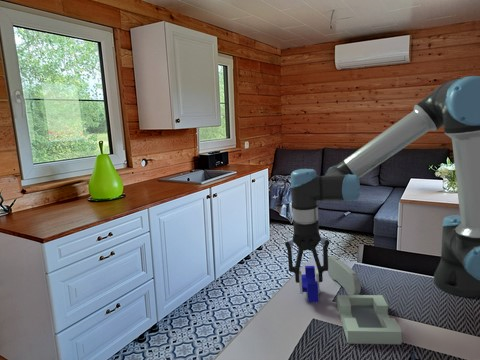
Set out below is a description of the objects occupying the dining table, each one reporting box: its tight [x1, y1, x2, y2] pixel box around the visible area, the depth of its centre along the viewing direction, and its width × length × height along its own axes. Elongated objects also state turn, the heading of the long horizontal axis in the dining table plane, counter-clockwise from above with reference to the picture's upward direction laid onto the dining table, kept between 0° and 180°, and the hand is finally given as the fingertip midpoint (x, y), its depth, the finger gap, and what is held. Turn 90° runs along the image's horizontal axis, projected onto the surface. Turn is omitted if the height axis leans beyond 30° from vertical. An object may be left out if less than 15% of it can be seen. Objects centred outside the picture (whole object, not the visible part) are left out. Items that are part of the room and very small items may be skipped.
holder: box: [336, 294, 403, 345], centre depth 97 cm, size 13×18×4 cm
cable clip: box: [301, 265, 319, 303], centre depth 111 cm, size 12×4×6 cm, turn 173°
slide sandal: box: [327, 254, 362, 295], centre depth 118 cm, size 20×2×8 cm, turn 13°
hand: (309, 291), depth 112 cm, fingers closed on cable clip, 4 cm apart
